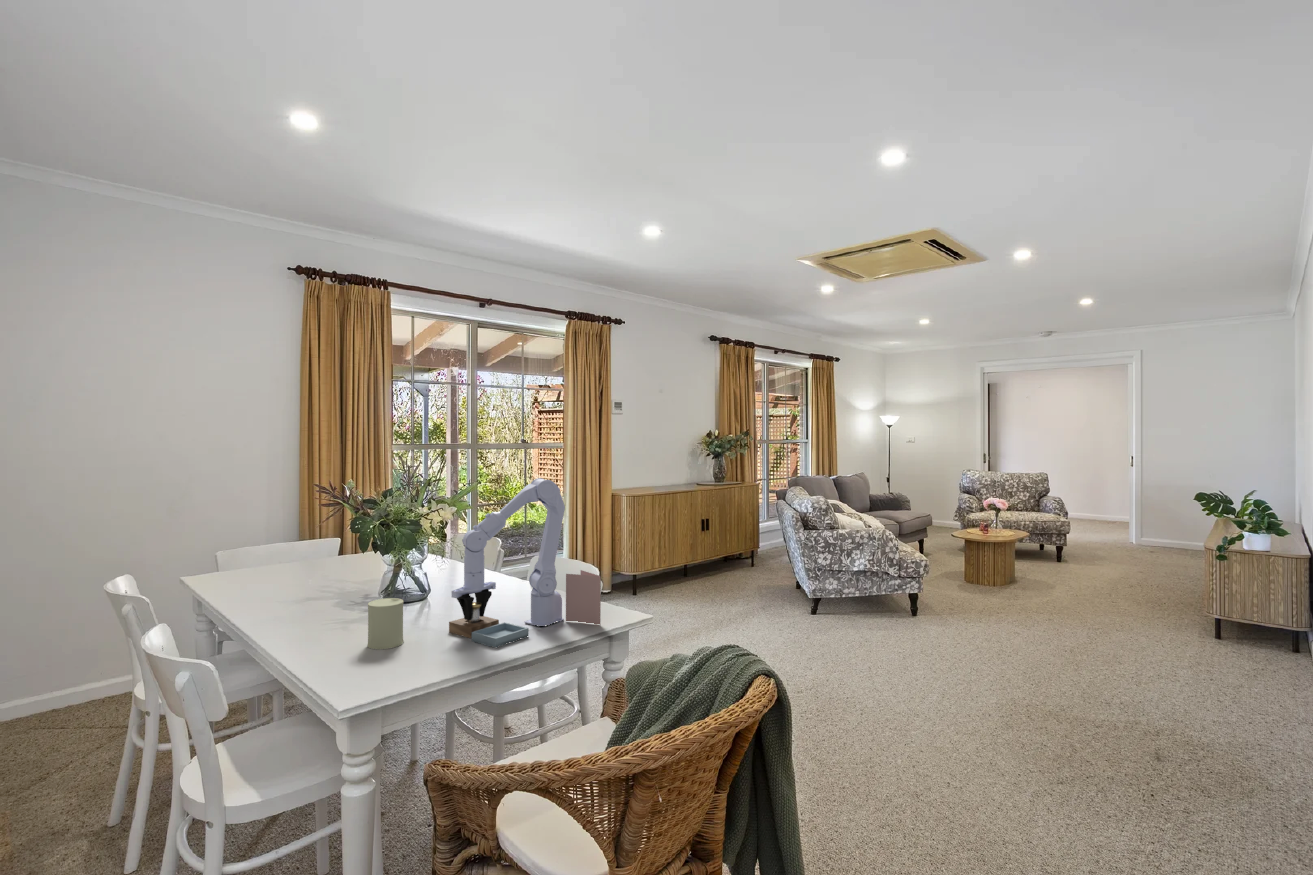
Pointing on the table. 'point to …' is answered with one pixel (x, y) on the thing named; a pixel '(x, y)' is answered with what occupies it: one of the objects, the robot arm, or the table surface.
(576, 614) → the greeting card
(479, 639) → the tray
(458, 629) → the pin stand
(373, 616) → the can
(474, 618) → the pin
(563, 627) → the table surface
